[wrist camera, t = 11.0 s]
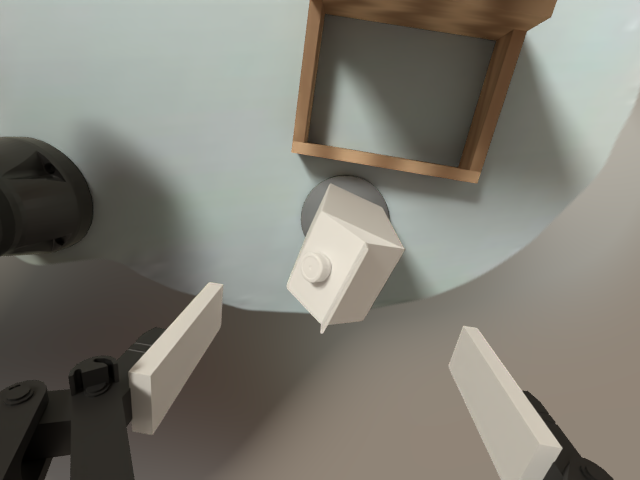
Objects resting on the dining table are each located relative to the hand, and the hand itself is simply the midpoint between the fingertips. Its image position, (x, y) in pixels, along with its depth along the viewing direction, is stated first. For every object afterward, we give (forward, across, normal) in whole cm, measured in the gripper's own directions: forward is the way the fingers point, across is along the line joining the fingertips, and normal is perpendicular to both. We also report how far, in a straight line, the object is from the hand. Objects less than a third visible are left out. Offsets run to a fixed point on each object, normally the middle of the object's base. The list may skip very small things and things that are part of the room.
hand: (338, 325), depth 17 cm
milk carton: (+23, +1, 0) cm, 23 cm away
